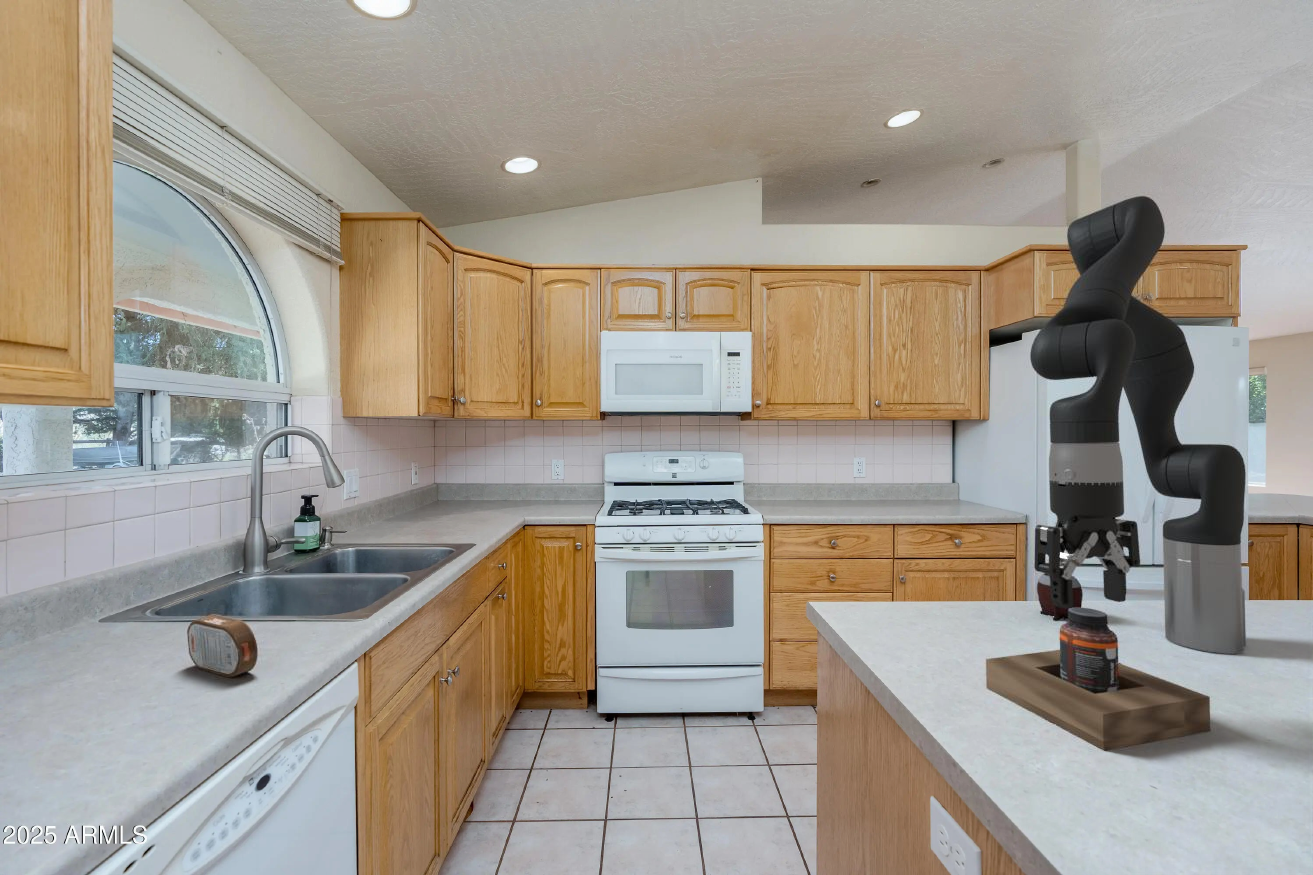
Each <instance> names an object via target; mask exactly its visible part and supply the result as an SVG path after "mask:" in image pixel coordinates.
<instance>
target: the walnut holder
mask: <svg viewBox="0 0 1313 875" xmlns="http://www.w3.org/2000/svg"><path fill="white" fill-rule="evenodd" d="M1060 671H1061V670H1060V649H1055V650H1048V651H1047V650H1046V651H1040V652H1032V653H1025V654H1024V653H1022V654H1015V655H1008V656H999V657H992V658H986V659H985V672H986V673H985V674H986V675H985V676H986V682H985V683H986V689H988V690H990V691H992V692H993V693H995V694H997V695H999V696H1001V697H1003V698H1005V699H1006V700H1009V701H1011V702H1013V703H1014V704H1016V705H1018V706H1020V707H1022V708H1023V709H1026V710H1027V711H1029V712H1031V713H1033V714H1035V715H1037V716H1038V717H1040V718H1042V719H1044V720H1046V721H1048V722H1050V723H1052V724H1053V725H1055V724H1056V726H1057V727H1059V728H1061V729H1063V730H1065V731H1067V733H1070V734H1072V735H1074V736H1076V737H1078V738H1080V739H1081V740H1083V741H1085V742H1087V743H1089V744H1091V745H1093V746H1095V747H1097V748H1098V749H1100V750H1102V751H1107V750H1112V749H1119V748H1124V747H1128V746H1135V745H1141V744H1145V743H1151V742H1155V741H1161V740H1162V741H1163V740H1167V739H1173V738H1179V737H1183V736H1184V737H1185V736H1189V735H1195V734H1201V733H1205V732H1211V700H1210V696H1208V695H1206V694H1203V693H1200V692H1198V691H1196V690H1192V689H1190V688H1187V687H1183V686H1181V685H1179V684H1176V683H1174V682H1171V681H1169V680H1165V679H1163V678H1161V677H1158V676H1155V675H1153V674H1150V673H1147V672H1144V671H1142V670H1139V669H1136V668H1134V667H1131V666H1128V665H1125V664H1123V663H1121V662H1118V673H1119V690H1118V691H1111V692H1104V693H1098V694H1094V693H1092V692H1089V691H1087V690H1085V689H1083V688H1080V687H1078V686H1076V685H1074V684H1071V683H1069V682H1067V681H1065V680H1062V679H1061V672H1060Z"/></svg>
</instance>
